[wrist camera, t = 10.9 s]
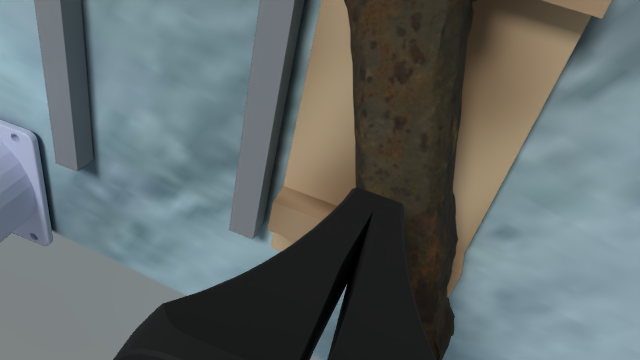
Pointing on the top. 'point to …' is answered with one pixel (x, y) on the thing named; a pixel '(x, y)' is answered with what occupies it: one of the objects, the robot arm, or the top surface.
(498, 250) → the top surface
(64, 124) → the socket channel
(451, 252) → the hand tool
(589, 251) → the top surface
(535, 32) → the rack
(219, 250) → the top surface
